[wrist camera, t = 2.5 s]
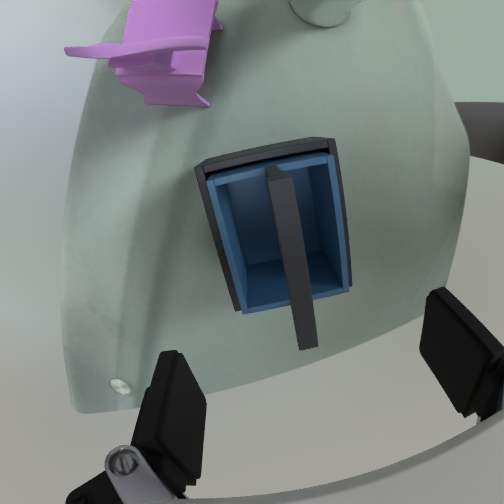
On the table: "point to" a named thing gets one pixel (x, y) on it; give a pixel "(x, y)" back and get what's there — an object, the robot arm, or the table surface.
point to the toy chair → (161, 49)
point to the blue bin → (283, 234)
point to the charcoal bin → (257, 154)
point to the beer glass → (324, 11)
